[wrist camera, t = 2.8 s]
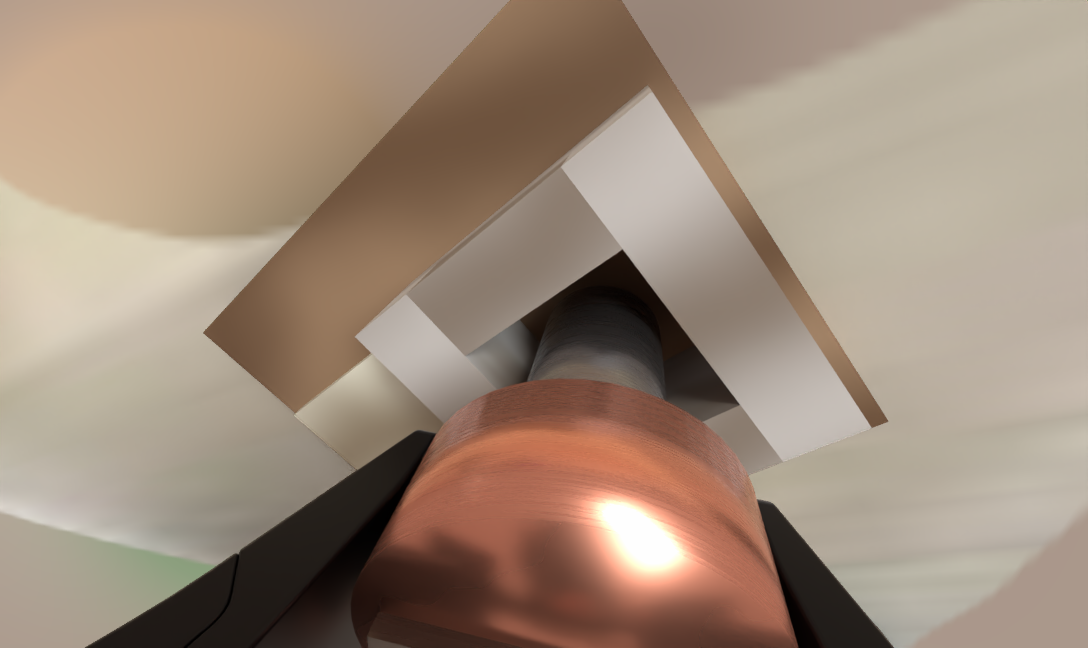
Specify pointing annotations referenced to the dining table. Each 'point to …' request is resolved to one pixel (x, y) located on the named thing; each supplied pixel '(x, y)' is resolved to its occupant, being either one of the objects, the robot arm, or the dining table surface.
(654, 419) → the copper knob
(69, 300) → the dining table surface
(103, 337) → the dining table surface
